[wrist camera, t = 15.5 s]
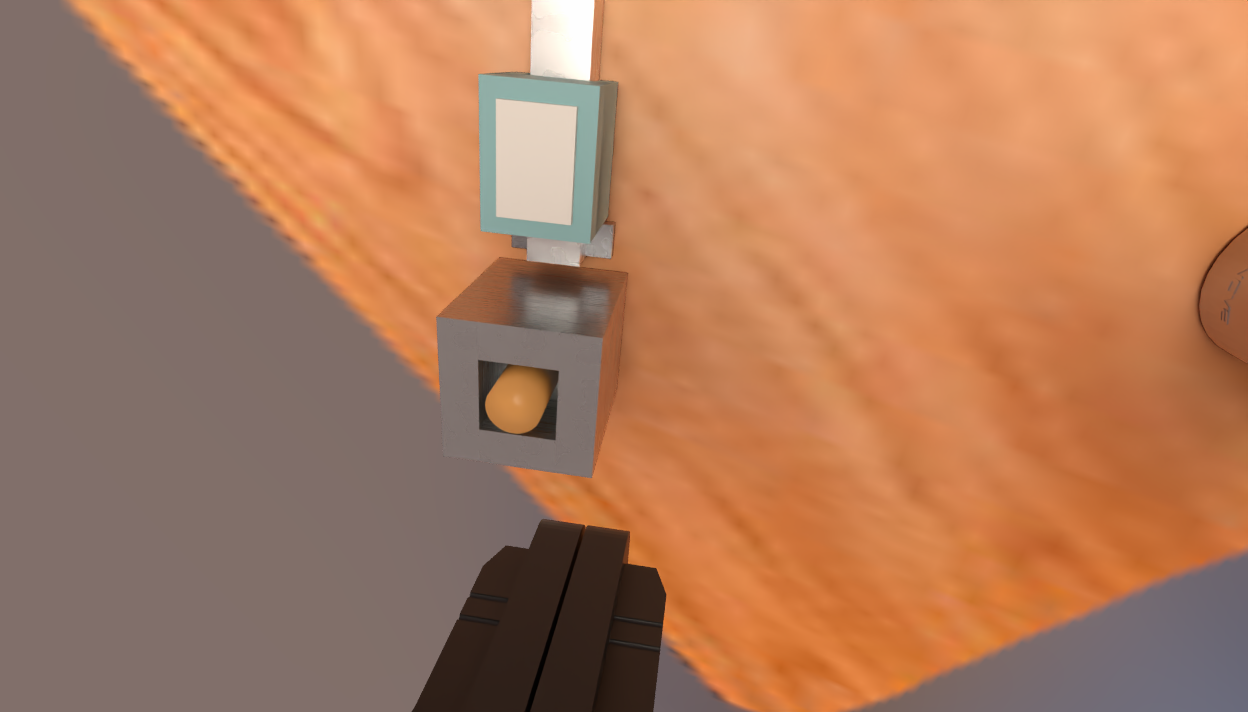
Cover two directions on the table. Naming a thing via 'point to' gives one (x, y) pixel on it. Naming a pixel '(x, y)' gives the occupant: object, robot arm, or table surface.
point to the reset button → (520, 397)
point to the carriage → (545, 155)
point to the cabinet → (532, 361)
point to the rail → (573, 52)
